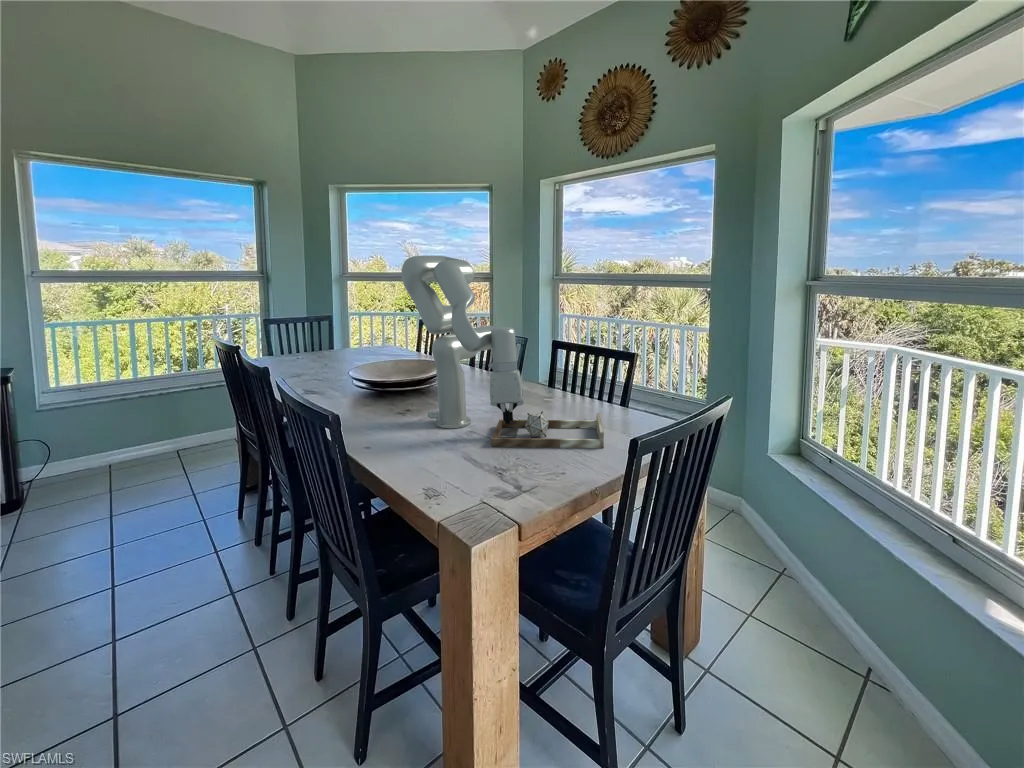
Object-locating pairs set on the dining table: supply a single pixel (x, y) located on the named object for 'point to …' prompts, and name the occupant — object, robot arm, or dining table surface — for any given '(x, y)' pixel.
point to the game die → (537, 424)
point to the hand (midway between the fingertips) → (508, 422)
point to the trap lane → (510, 441)
